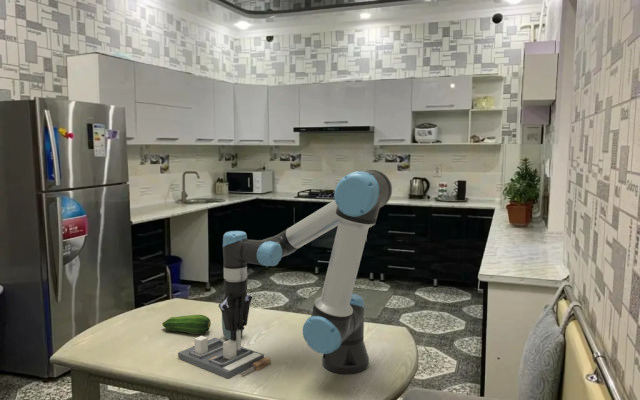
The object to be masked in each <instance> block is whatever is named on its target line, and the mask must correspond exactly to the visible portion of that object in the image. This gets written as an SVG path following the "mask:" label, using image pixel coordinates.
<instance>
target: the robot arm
mask: <svg viewBox="0 0 640 400" xmlns="http://www.w3.org/2000/svg"><path fill="white" fill-rule="evenodd" d="M392 193H393V186H392V183H391V180H390V179H389V177H388V176H387V175H386V174H385V173H383V172H382V171H379V170H376V169H369V170H368V169H367V170H363V171H361V170H359V171H358V170H357V171H353V172H350V173H348V174H347V175H344V176H343V177H342V178H341V179H340V180H339V181H338V182H337V184H336V187H335V190H334V200H332V201H331V202H328V203H327V204H325V205H324V206H323V207H321V208H319V209H316V211H314V212H313V213H311V214H309V215H308V216H306V217H305V218H303V219H301V220H300V221H298V222H296V223H295V224H293V225H292V226H290V227H287V228H286V229H285V230H283V231H281V232H280V233H278V234H276V235H273V236H270V237H267V238H264V239H262V240H261V239H258V240H257V239H249V238H248V236H247V233H246V232H245V231H242V230H230V231H226V232H225V233H224V234H223V238H222V256H223V279H224V280H223V291H224V293H225V295H224V298H223V302H222V303H218V308H219V309H220V311H221V317H222V316H223V321H224V325H225V329H226V330H228V331H231V340H232V341H235V342H236V350H240V349H241V347H242V340H241V339H242V338H243V334H242V330H243V331H244V330H245V327H246V326H247V324H248V320H249V319H248V318H249V314H250V313H249V312H250V306H251V302H252V299H253V296H252V295H249V294H247V291H248V279H247V278H248V264H252V265H260V266H265V267H270V266H271V267H275V266H277V265H278V264H279V262H281V260H282V258H283V257H286V256H290V255H291V254H293V253H294V252H296V251H297V250H298V249H300V248H302V247H303V246H304V245H307V244H309V243H310V242H312V241H314V240H316V239H317V238H319V237H321V236H322V235H324V234H325V233H328V232H330V231H331V230H333V229H335V228H336V227H337V229H336V233H335V236H334V241H333V242H334V243H333V245H332V250H331V254H330V258H329V262H328V267H327V269H326V270H327V271H326V275H325V278H324V279H325V280H324V283H323V287H322V290H321V291H322V292H321V295H320V296H319V297H317V298H316V299H315V300H314V303H313V307H312V311H311V314H310V315H311V316H310V317H308V318H307V319H306V320H305V322H304V323H303V325H302V336H303V339H304V341H305V342H306V344H307V346H308V347H309V348H310V349H311V350H313V351H314V352H316V353H319V354H322V356H321V357H322V362H321V363H322V366H323V367H324V368H325V369H326V370H328V371H330V372H332V373H336V374H340V375H341V374H344V375H350V374H357V373H361V372H363V371H365V370H367V368H368V367H369V366H368V365H369V364H370V360H369V359H370V357H369V354H368V351H367V348H366V345H365V341H364V335H365V334H364V333H365V330H364V328H365V325H364V324H365V300H364V298H363V296H361V295H359V294H356V293H353V291H354V287H355V283H356V280H357V276H358V272H359V268H360V264H361V261H362V256H363V252H364V248H365V244H366V240H367V237H368V236H367V235H368V233H369V232H368V231H369V228H372V227H373V226H375V225H376V222H377V220H378V219H377V218H378V214H379V211H380V209H381V208H382V207H384V206H385V205H386V204H387V203H388V202H389V201H390V199H391V197H392ZM243 326H244V327H243Z"/></svg>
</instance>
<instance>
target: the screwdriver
mask: <svg viewBox="0 0 640 400" xmlns="http://www.w3.org/2000/svg"><path fill="white" fill-rule="evenodd" d="M271 363H272V362H271V357H267V356H264V358H263V359H261V360H259V361H257V362H255V363H253V366H252V367H250V368H248V369H246V370H244V371H242V372H240V376H244V375H246V374H247V373H249V372H251V371H254V370H255V371H260V370H262V369H265V368H267V366H270V365H271Z"/></svg>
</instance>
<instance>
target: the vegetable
mask: <svg viewBox="0 0 640 400" xmlns="http://www.w3.org/2000/svg"><path fill="white" fill-rule="evenodd" d="M211 325H212V323H211V319H210V318H209V317H208V316H206V315H203V314H192V315H191V314H190V315H189V314H188V315H181V316H173V317H169V318H168V319H166V320H165V321H163V322H162V327H163V328H165V329H166V331H168V332H171V333H176V332H179V333H184V334H190V335H205V334H206V333H208V332H209V331H210V328H211Z"/></svg>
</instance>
